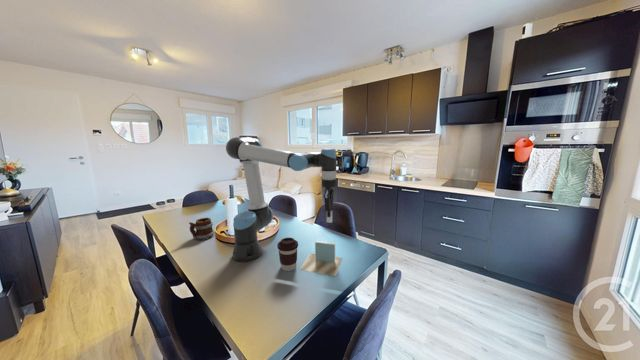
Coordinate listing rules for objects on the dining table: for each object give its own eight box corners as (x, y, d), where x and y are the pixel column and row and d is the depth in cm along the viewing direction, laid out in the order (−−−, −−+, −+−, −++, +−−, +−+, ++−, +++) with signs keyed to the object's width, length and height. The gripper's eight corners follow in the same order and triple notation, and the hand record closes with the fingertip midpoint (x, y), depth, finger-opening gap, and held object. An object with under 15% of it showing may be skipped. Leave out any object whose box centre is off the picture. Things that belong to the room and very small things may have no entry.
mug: (219, 234, 148) (214, 214, 143) (200, 246, 136) (193, 225, 132) (209, 230, 154) (203, 211, 149) (189, 242, 142) (182, 222, 137)
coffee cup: (295, 275, 102) (294, 246, 99) (275, 273, 104) (273, 244, 101) (301, 264, 111) (300, 236, 109) (283, 262, 113) (281, 235, 111)
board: (299, 271, 105) (299, 269, 105) (310, 255, 120) (310, 253, 120) (335, 278, 100) (335, 275, 99) (342, 260, 115) (342, 258, 114)
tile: (315, 260, 113) (315, 242, 111) (316, 258, 114) (316, 240, 113) (334, 263, 110) (334, 244, 108) (335, 261, 112) (335, 243, 110)
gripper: (333, 181, 105) (333, 227, 109) (338, 176, 117) (338, 218, 121) (318, 180, 107) (319, 225, 111) (325, 176, 119) (325, 217, 124)
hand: (329, 222), depth 116 cm, fingers closed
